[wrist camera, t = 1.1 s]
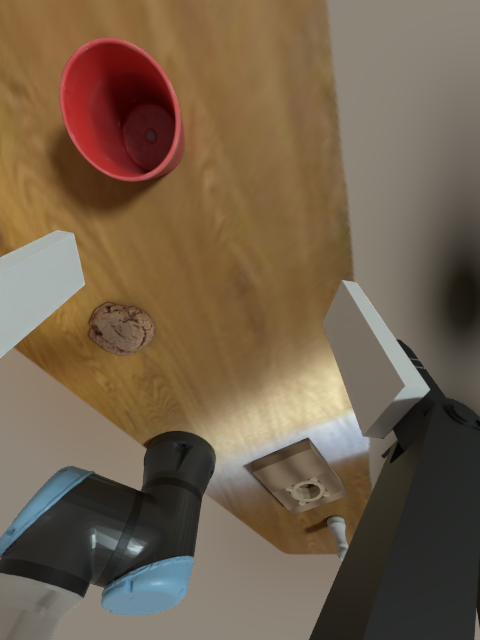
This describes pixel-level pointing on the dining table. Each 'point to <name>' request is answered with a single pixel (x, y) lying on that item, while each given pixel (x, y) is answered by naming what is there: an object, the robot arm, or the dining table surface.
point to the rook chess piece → (338, 534)
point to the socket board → (299, 477)
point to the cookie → (121, 328)
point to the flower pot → (121, 110)
